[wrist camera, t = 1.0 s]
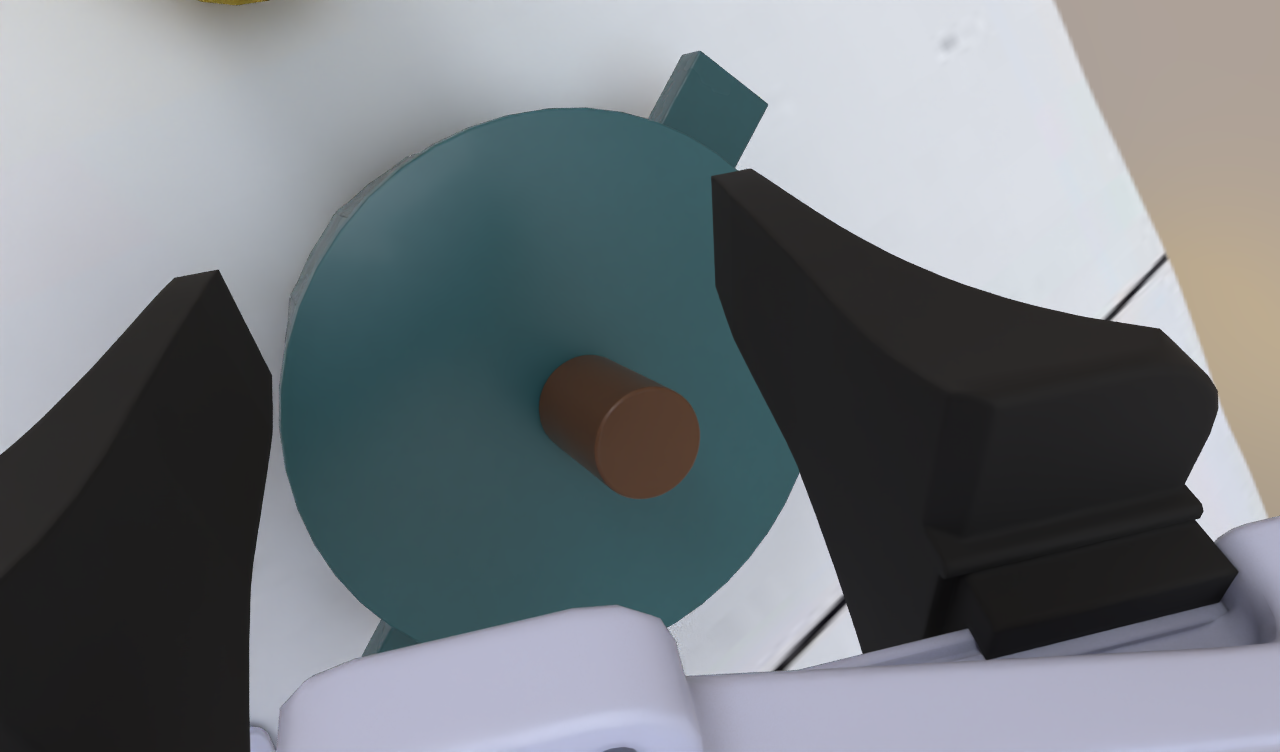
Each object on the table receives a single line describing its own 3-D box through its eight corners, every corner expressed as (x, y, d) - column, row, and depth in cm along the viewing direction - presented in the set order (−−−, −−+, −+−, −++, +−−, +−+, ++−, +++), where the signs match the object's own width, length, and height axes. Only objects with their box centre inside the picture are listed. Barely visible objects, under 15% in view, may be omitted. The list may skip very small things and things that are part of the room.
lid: (875, 281, 26) (1001, 303, 22) (652, 704, 26) (737, 808, 21) (461, -15, 19) (528, -65, 15) (160, 543, 19) (144, 647, 15)
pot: (791, 199, 30) (913, 205, 25) (540, 673, 30) (610, 782, 25) (467, -39, 25) (537, -96, 19) (150, 547, 24) (132, 654, 19)
